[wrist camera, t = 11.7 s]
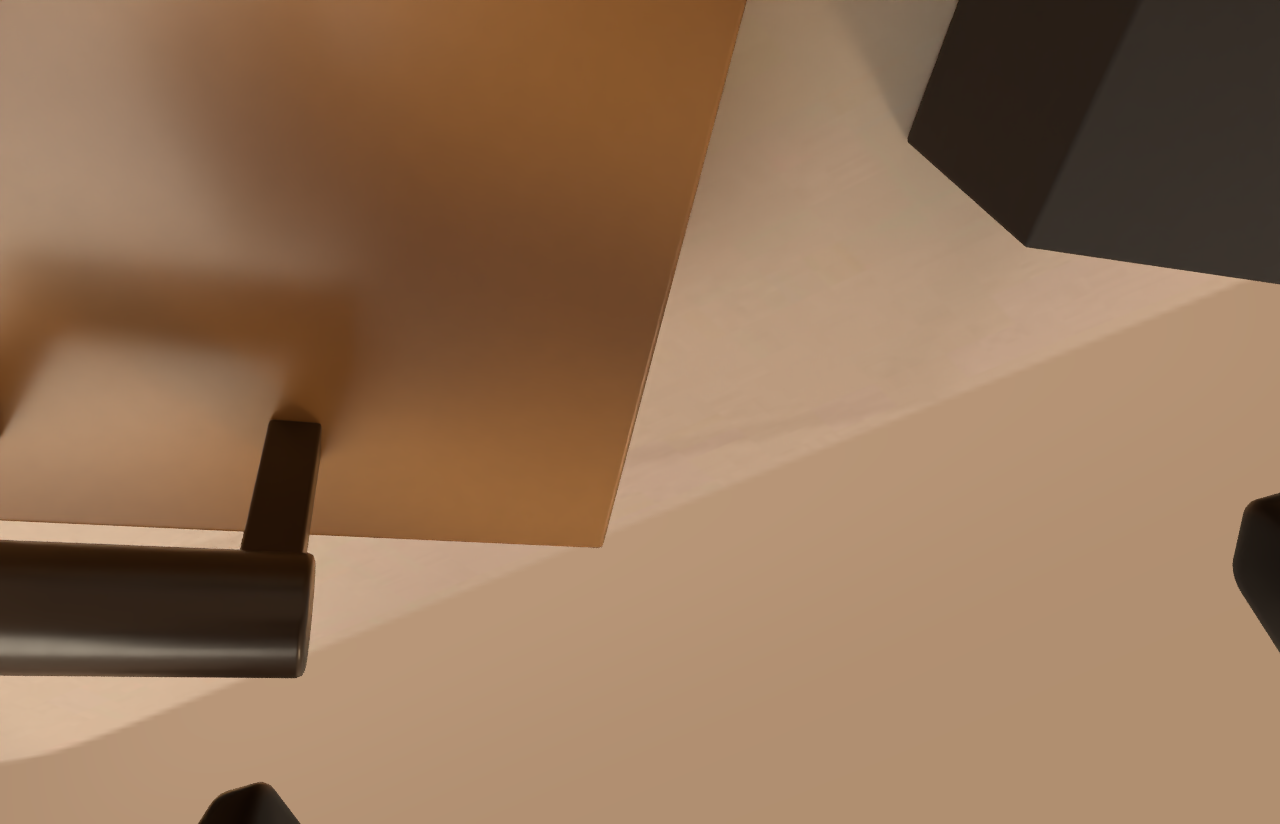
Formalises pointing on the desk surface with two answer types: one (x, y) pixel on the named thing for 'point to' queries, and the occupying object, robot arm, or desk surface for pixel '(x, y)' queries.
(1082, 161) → the matte charcoal cube
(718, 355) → the desk surface
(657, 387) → the desk surface
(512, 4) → the lid
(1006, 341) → the desk surface
